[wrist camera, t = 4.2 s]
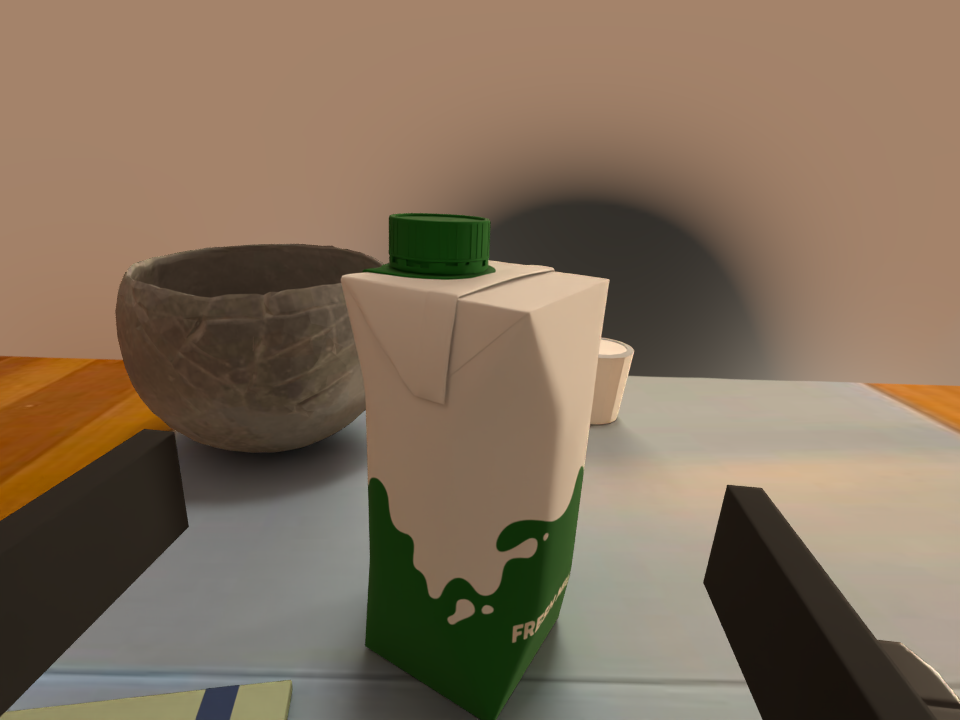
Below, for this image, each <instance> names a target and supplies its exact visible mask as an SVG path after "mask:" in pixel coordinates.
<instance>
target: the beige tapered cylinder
mask: <svg viewBox="0 0 960 720" xmlns="http://www.w3.org/2000/svg"><path fill="white" fill-rule="evenodd" d="M633 353H634V350H633V349H632V348H631V346H629V345H627V344H624V343H622V342H619V341H615V340H612V339H607V338H601V341H600V348H599V355H598V363H597V371H596V379H595V387H594V395H593V403H592V411H591V419H590V424H600V425H601V424H607V423H611V422H613V421H615V420H616V419H617V416H618V412H619V408H620V404H621V400H622V396H623V392H624V388H625V384H626V381H627V377H628V373H629V369H630V365H631V361H632V357H633Z"/></svg>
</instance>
